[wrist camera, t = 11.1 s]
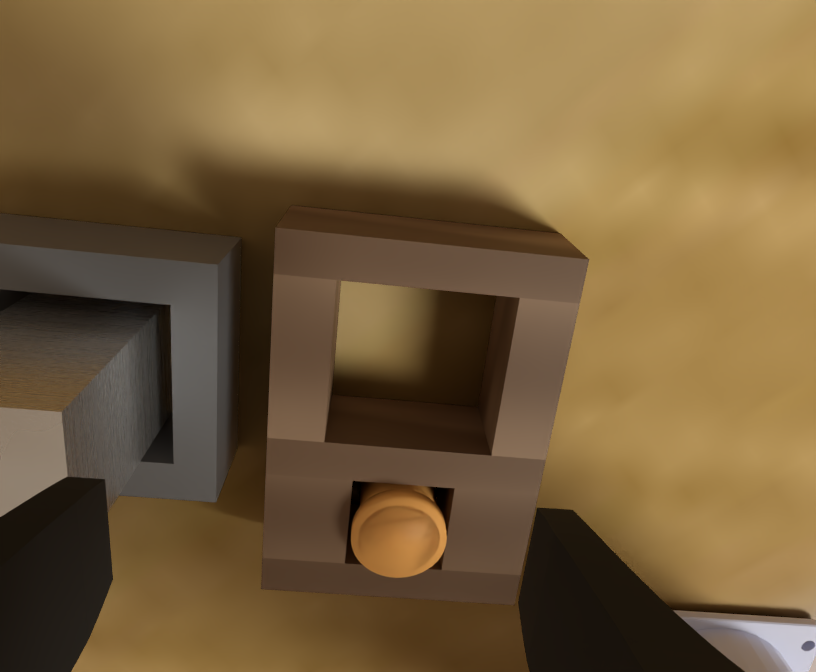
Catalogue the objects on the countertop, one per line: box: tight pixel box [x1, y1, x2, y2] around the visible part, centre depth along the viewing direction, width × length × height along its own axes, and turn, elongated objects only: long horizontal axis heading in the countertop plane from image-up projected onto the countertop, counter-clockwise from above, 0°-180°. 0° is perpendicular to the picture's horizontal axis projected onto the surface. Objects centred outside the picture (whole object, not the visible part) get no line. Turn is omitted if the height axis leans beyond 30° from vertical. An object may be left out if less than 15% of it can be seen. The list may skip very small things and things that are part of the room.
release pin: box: [351, 481, 447, 578], centre depth 21 cm, size 3×3×3 cm
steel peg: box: [0, 292, 173, 517], centre depth 17 cm, size 4×4×8 cm
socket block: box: [261, 205, 589, 605], centre depth 20 cm, size 11×8×3 cm
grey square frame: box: [0, 213, 242, 502], centre depth 19 cm, size 7×7×3 cm
